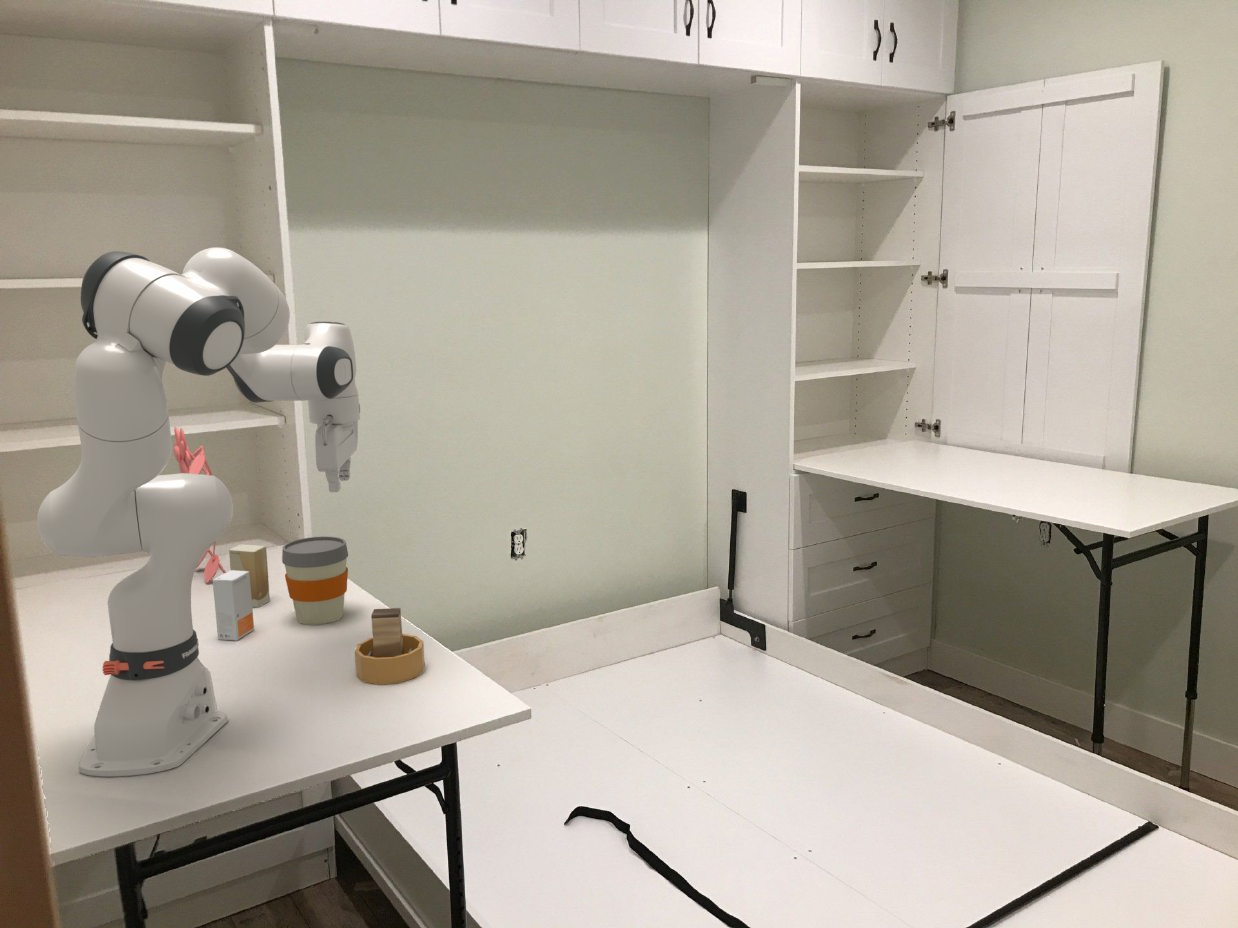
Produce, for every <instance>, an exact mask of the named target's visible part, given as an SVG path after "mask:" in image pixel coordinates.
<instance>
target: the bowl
mask: <svg viewBox="0 0 1238 928" xmlns="http://www.w3.org/2000/svg"><path fill="white" fill-rule="evenodd" d="M402 639H403V646H404V654H403V655H399V656H395V657H382V658H376V657H374V647H373V636H372V637H369V638H367V639H365V640H363V641H361V642H360V643H357V646H356V647H355V649H354V659H355V672H356V677H358V679H359V680H361V681H362V682H365V683H369V684H373V685H392V684H398V683H403V682H406V681H410V680H412V679H414V678H416V677H417V676H419V675H421V674H422V673H423V672H424V669H425V667H426V666H425V665H426V663H425V648H424V647H425V646H424V640H422V638H420V637H418V636H417V635H413V634H409V633H408V634H406V633H402ZM410 648H412V651H411V652H409V650H410ZM370 650H372V656H373V657H370V656H368V653H369V651H370Z"/></svg>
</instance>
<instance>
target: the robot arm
mask: <svg viewBox="0 0 1238 928" xmlns="http://www.w3.org/2000/svg"><path fill="white" fill-rule="evenodd" d="M80 305H81V309H82V313H83V314H82V319H81V322H82V325H83V327H84V329H85V330H86V332H87V333H88V334H89V335H90V336H91V337H92V338H93V339H95V341H93V342H92V343H91V344H89V345H88V346H86V347H85V348H83V350H82V351H81V352H80V353H79V354H78V356H77V358H76V362H75V364H74V365H75V366H74V372H73V373H74V374H73V399H74V411H75V415H76V416H75V417H76V421H77V427H78V432H79V434H78V435H79V440H80V447H81V448H80V449H81V450H80V452H81V453H80V454H81V460H80V463H79V466H78V468H77V469H76V470H75V472H74V473H73V475H72V476H71V477H70V478H68V479H67V480H66V481H65V482H64V483H63V484H60V486H59V487H57V488H55V489H53V490H51V491H50V492H49V493H47V495H46V496H45V497H44V499H43V501H42V502H41V504H40V506H39V508H38V512H37V518H36V527H37V531H38V534H39V537H40V539H41V541H42V542H43V544H44V545H45V547H46V548H48V550H50V551H51V552H52V553H53V554H55V555H56V556H58V557H69V558H70V557H71V558H89V559H91V558H100V557H101V558H102V557H110V556H119V555H126V554H134V553H135V554H136V553H141V552H142V553H148V554H149V555H150V557H149V560H148V561H147V563H146V564H145V565H143V566H142V567H141V568H139V569H138V570H136V571H134V572H132V573H131V574H129V575H127V576H126V577H125V578H122V579H121V580H120V581H119V582H118V583H117V584H116V585H114V586H113V588H112V590H111V591H110V593H109V595H108V598H107V609H108V610H107V611H108V617H109V626H110V632H111V640H112V643H111V644H110V646H109V647H110V650H109V655H108V656H109V657H108V660H105V661H104V662H103V663H102V674H103V675H104V676H109V678H108V681H107V684H106V687H105V690H104V693H103V696H102V699H101V701H100V705H99V709H98V711H97V714H96V718H95V722H94V725H93V730H94V731H93V733H94V734H93V736H92V738H91V740H90V742H89V744H88V746H87V748H86V749H85V752H84V754H83V756H82V757H81V760H80V762H79V764H78V773H80V774H83V775H87V776H92V777H125V776H138V775H139V776H140V775H147V774H153V773H159V772H162V771H167V770H171V769H173V768H177V767H180V765H182V764H183V763H185V761H186V760H188V759H189V758H190V757H191V756H192V755H193V754H194V753H195V752H197V751H198V749H199V748H200V747H202V746H203V745H204V744H205V743H206V742H207V741H208V740H209V739H211V737H213V736H214V734H215V733H217V732H218V731H219V730H220V729H221V728H222V727H223V726H224V725H225V724H226V723H228V721H229V720H228V715H227V713H225V712H223V711H221V710H218V707H217V706H218V705H217V700H216V696H215V690H214V683H213V679H212V673H211V671H210V670H209V669H208V668H207V667H206V666H205V665H204V664H203V663H202V662H201V660H200V659H199V654H200V649H199V639H198V636H197V631H196V630H195V629H194V626H193V625H194V624H193V618H192V617H193V615H192V585H193V584H192V582H193V578H194V574H195V572H196V569H197V568H198V567H197V565H198V563H199V561H200V559H201V557H202V556H203V555H204V553H205V552H206V551H207V549H208V548H209V547H210V546H212V545H214V542H215V541H218V540H219V539H220V538H222V536H224V534H225V533H226V531H227V530H228V529H229V526H230V525H231V522H232V519H233V516H234V502H233V498H232V495H231V493H230V491H229V489H228V487H227V486H226V484H225V483H224V482H223V481H221V480H220V478H219V477H217V476H216V475H213V476H211V475H206V474H201V473H200V474H188V473H171V474H162V475H161V473H162V472H163V471H164V469H165V468H166V466H168V464H169V462H170V460H171V457H172V455H173V441H172V432H171V431H172V430H171V424H170V423H171V422H170V415H169V408H168V407H169V406H168V401H167V397H166V396H167V395H166V390H165V387H164V385H163V374H164V373H163V372H164V370H165V369H164V368H165V367H166V364H167V363H168V364H169V363H170V364H171V365H174V366H175V367H176V368H178V369H179V370H181V371H184V372H186V373H189V374H194V375H198V376H204V377H205V376H207V377H209V376H212V375H214V374H217V373H219V372H221V371H223V370H225V369H227V371H228V372H229V373H230V375H231V376H232V378H233V380H234V383H235V386H236V388H237V390H238V391H239V392H240V394H241V395H243V397H245V399H247V400H249V402H251V403H256V404H257V403H270V402H275V401H276V402H277V401H280V402H281V401H283V402H286V401H289V402H290V401H293V402H294V401H295V402H296V401H300V402H301V401H302V402H303V401H307V404H308V415H309V422H310V423H311V424H315V425H316V427H317V428H316V430H315V434H314V438H315V439H314V444H315V445H314V446H315V464H316V468H317V470H318V472H323V473H325V477H326V481H327V483H328V491H329V492H330V493H338V492H339V491H340V490H341V488H342V487H341V482H346V481H348V480H350V479H351V463H352V462H351V461H352V459H351V458H352V457H351V456H352V455H353V454H354V453H355V452H356V451H357V448H358V439H359V435H358V433H359V432H358V431H359V429H358V428H359V425H358V424H359V422H358V421H359V420H360V419H361V415H360V414H361V406H360V405H361V404H360V402H359V401H360V399H359V390H358V388H357V385H356V373H357V364H356V363H357V362H356V354H355V353H356V352H355V347H354V341H353V336H352V333H351V330H350V327H349V326H348V325H346V324H345V323H342V322H337V321H314V322H310V323H308V324H306V326H305V330H304V331H305V332H304V333H305V334H304V342H303V344H278V343H280V341H281V340H282V338H283V337H284V336H285V334H286V332H287V329H288V327H289V323H290V318H291V317H290V315H291V314H290V307H289V303H288V301H287V299H286V297H285V295H284V293H283V292H282V291H281V290H280V288H279V287H278V286H277V284H275V283H274V282H273V281H272V280H271V278H270V277H268V275H267V274H266V273H264V272H263V271H262V270H261V269H260V268H259V267H257V266H256V265H255V264H254V263H253V262H251V261H250V260H248V259H247V258H245V257H244V256H242V255H241V254H239V253H237V252H235V251H233V250H232V249H228V248H225V247H209V248H205V249H202V250H200V251H198V252H196V253H195V254H193V256H192V257H190V259H189V260H188V261H186V264H185V266H184V268H183V270H182V273H181V274H180V273H178V272H176V271H174V270H172V269H170V268H168V267H166V266H163V265H161V264H157V263H155V262H152V261H150V259H148V258H147V257H145V256H142V255H140V254H136V253H133V252H127V251H120V250H119V251H116V250H113V251H109V252H106V253H104V254H102V255H100V256H98V257H97V258H96V259H95V260H94V261H93V262H92V264H91V265H90V266H89V267H88V268H87V270H86V272H85V273H84V276H83V278H82V281H81V287H80ZM215 543H216V542H215ZM210 548H211V547H210ZM196 567H197V568H196Z"/></svg>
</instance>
